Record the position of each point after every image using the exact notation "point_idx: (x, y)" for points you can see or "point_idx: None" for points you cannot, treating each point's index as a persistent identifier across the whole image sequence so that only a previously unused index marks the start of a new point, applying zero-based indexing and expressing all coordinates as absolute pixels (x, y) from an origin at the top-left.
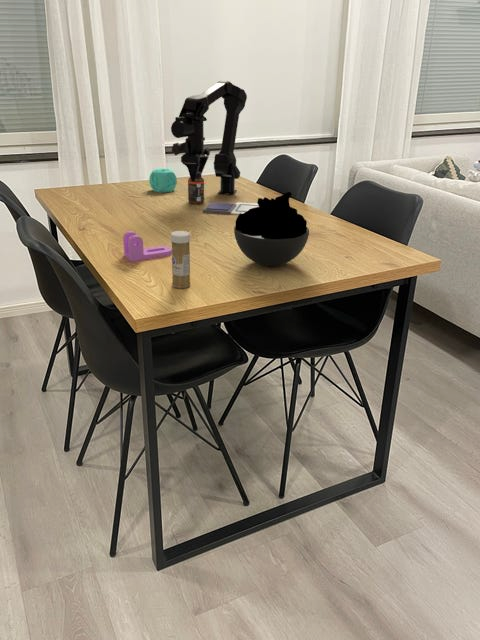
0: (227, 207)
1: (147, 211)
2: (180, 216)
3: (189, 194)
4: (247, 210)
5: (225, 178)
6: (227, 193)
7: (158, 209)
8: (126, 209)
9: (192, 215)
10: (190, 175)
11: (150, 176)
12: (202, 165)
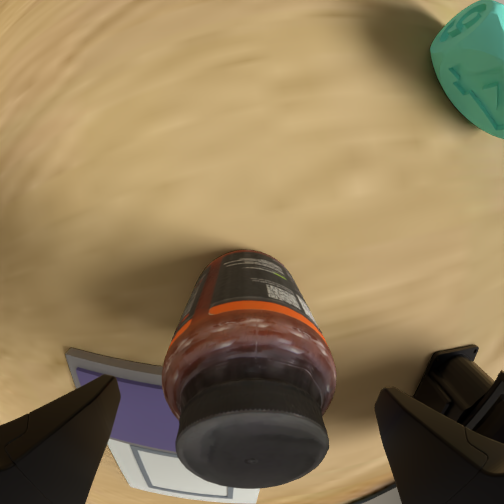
0: (126, 436)
1: (31, 98)
2: (2, 264)
3: (201, 281)
4: (157, 468)
5: (458, 421)
6: (418, 390)
7: (57, 126)
8: (63, 13)
9: (26, 309)
10: (58, 405)
11: (479, 2)
12: (413, 496)
